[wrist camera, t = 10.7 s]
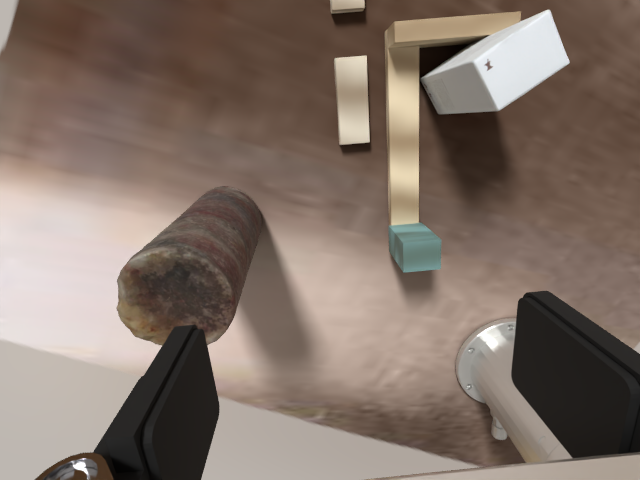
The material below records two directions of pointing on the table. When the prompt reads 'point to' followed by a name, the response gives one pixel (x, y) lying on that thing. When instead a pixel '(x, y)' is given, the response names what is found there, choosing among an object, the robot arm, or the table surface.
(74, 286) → the table surface
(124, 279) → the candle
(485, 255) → the table surface
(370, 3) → the table surface
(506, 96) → the skincare box
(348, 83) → the broken strip
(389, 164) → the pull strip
